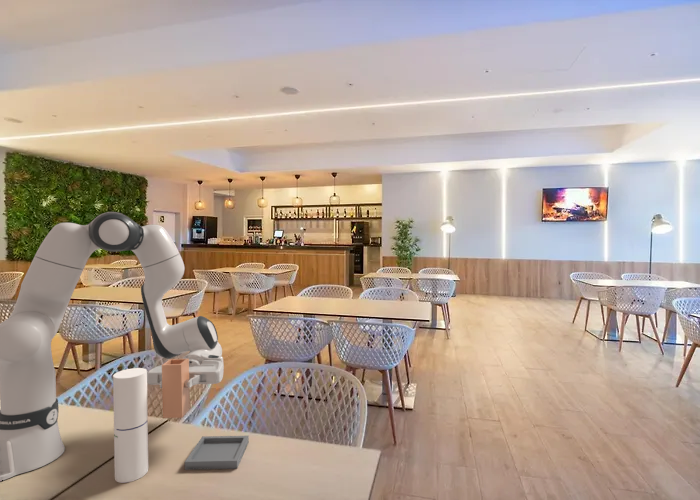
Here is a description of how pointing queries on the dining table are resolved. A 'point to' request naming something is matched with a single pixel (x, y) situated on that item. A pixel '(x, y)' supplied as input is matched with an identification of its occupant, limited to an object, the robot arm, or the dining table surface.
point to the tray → (217, 452)
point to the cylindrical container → (130, 424)
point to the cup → (175, 388)
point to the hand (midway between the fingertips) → (174, 385)
